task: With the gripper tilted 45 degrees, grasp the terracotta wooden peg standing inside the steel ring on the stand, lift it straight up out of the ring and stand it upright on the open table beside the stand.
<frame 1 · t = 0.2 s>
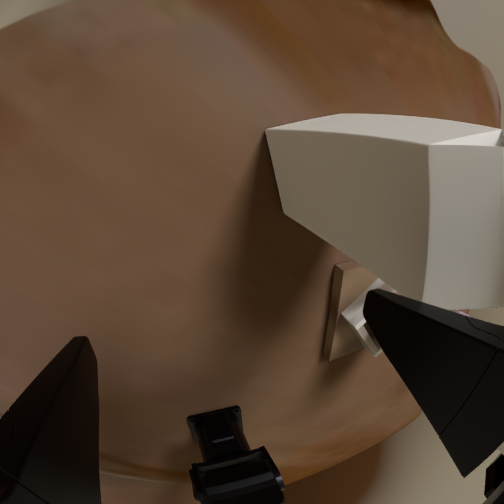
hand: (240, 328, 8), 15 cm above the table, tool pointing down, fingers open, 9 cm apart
milk carton: (310, 161, 23), on the table
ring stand: (371, 300, 32), on the table
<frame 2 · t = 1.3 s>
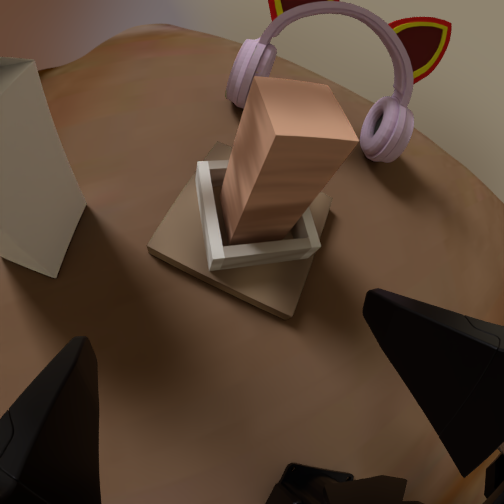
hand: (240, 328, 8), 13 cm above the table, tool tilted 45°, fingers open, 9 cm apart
milk carton: (42, 231, 21), on the table
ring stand: (246, 226, 25), on the table
peg: (250, 217, 24), point 1 cm above the table, touching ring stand
headphones: (308, 121, 33), on the table
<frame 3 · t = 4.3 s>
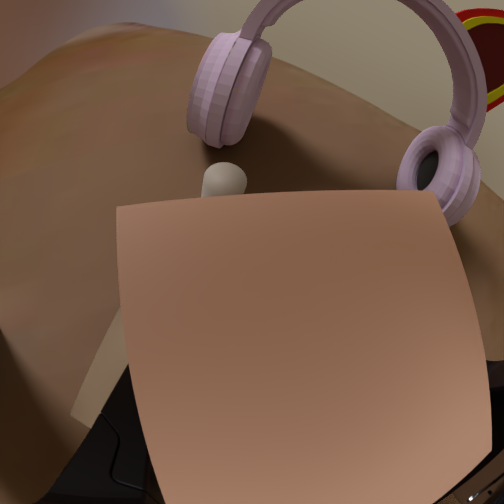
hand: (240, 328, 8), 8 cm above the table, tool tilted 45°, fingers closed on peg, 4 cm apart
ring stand: (220, 370, 15), on the table
peg: (223, 370, 13), point 1 cm above the table, touching gripper, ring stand
headphones: (322, 160, 22), on the table
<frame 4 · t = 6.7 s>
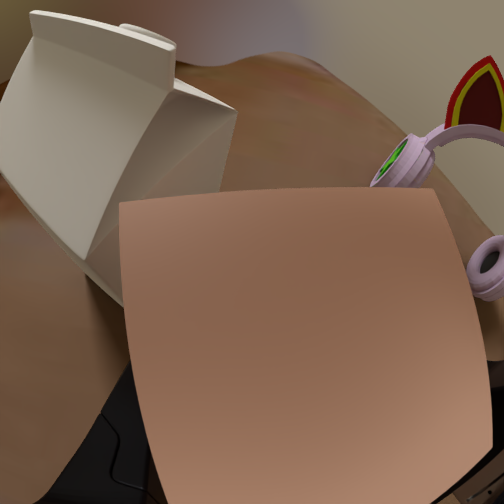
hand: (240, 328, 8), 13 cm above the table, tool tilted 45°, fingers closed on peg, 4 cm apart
milk carton: (142, 265, 22), on the table
peg: (224, 370, 13), point 7 cm above the table, touching gripper
headphones: (430, 233, 30), on the table
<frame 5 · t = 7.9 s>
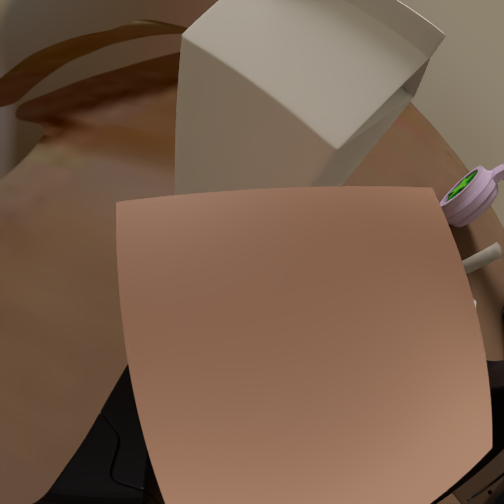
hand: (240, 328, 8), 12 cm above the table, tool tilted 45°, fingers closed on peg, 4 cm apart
milk carton: (239, 228, 23), on the table
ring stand: (416, 335, 23), on the table
peg: (223, 370, 13), point 6 cm above the table, touching gripper
headphones: (480, 261, 29), on the table
when the fingers open (7 cm above the table, at t = 9.1 s): peg drops 1 cm, on the table.
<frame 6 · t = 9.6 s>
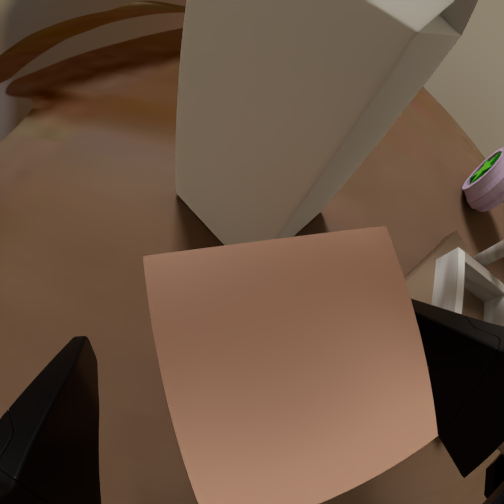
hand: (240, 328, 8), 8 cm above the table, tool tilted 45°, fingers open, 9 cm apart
milk carton: (250, 202, 19), on the table
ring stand: (448, 329, 19), on the table
peg: (221, 368, 15), on the table
headphones: (503, 250, 25), on the table
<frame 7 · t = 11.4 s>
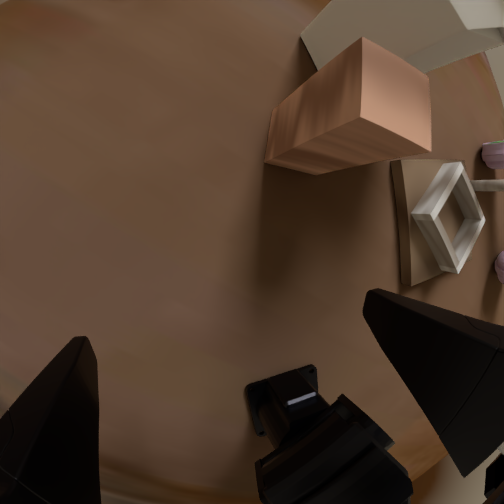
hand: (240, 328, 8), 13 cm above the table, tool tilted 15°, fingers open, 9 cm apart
milk carton: (343, 63, 22), on the table
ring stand: (434, 216, 27), on the table
peg: (294, 142, 22), on the table
headphones: (494, 208, 32), on the table
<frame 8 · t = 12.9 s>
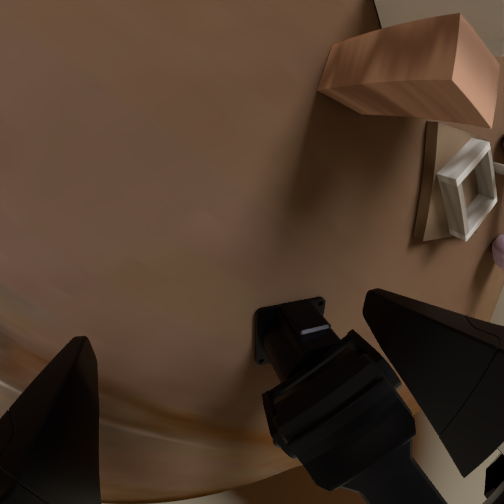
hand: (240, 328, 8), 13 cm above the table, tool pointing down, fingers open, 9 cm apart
milk carton: (402, 21, 18), on the table
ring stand: (452, 182, 27), on the table
peg: (347, 79, 19), on the table
headphones: (502, 193, 32), on the table
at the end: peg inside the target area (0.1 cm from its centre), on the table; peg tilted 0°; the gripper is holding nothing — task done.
